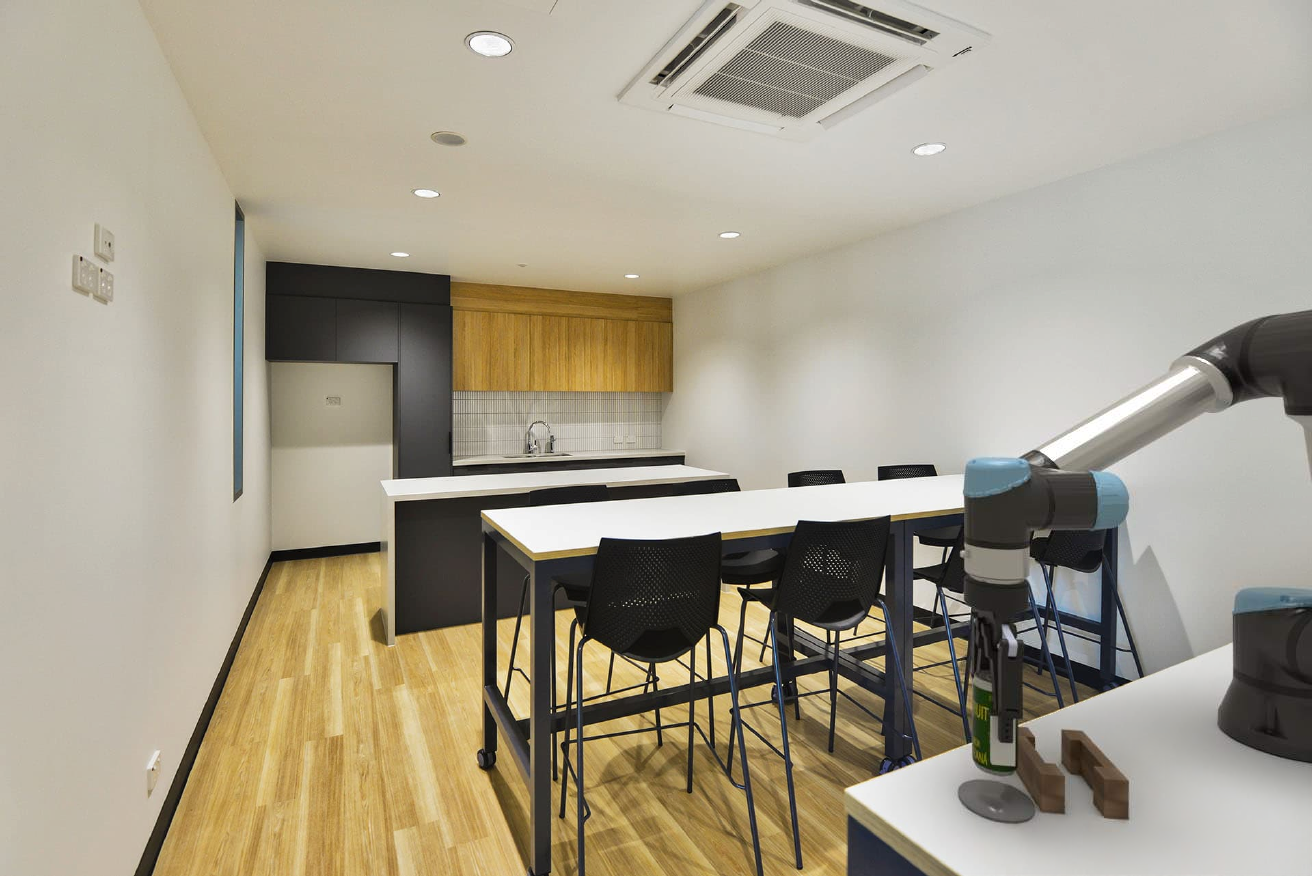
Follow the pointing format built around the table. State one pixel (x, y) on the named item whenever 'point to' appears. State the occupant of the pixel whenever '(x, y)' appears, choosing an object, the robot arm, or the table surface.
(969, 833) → the table surface
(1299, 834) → the table surface
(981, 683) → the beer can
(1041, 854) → the table surface
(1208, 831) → the table surface
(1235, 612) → the robot arm
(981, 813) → the coaster
